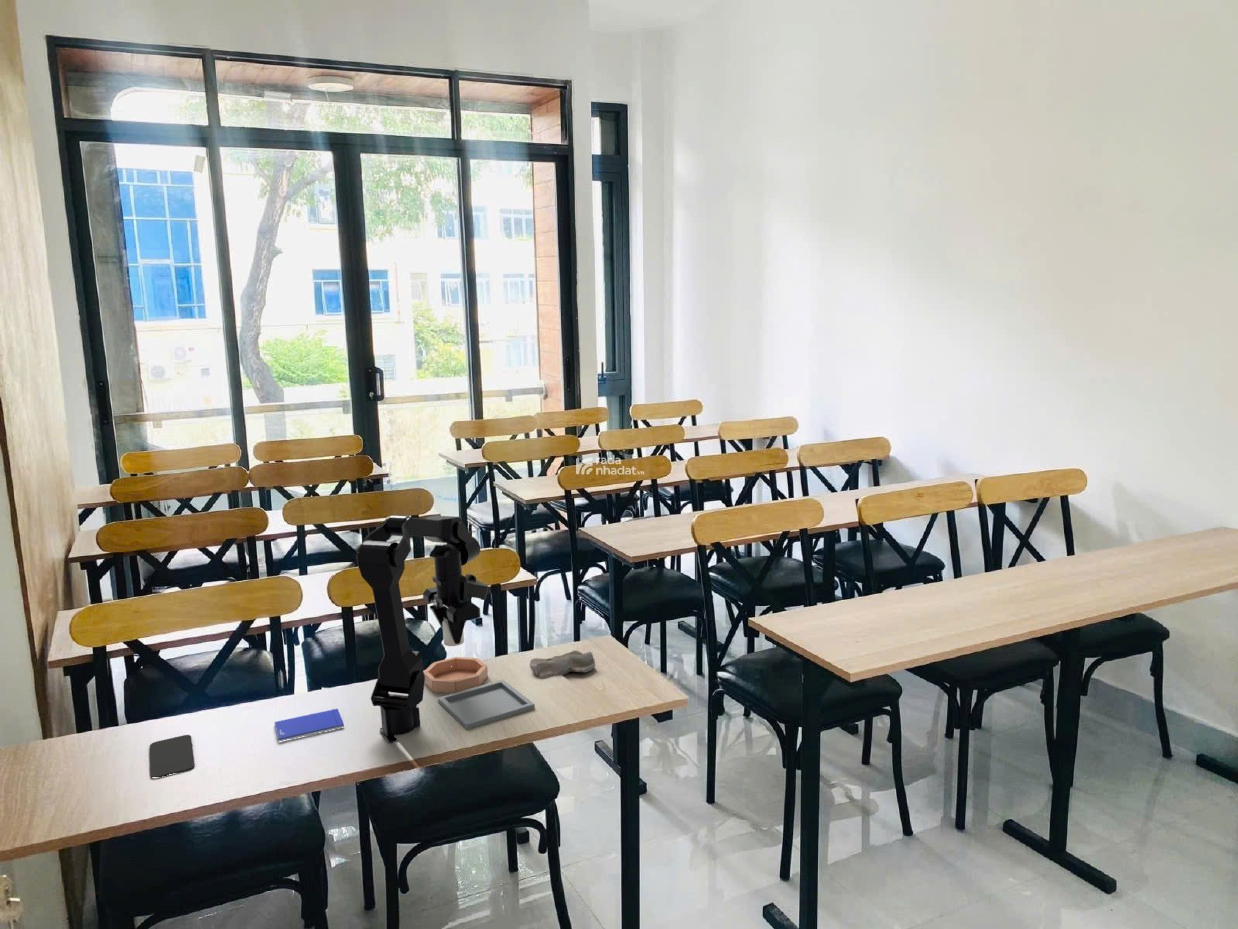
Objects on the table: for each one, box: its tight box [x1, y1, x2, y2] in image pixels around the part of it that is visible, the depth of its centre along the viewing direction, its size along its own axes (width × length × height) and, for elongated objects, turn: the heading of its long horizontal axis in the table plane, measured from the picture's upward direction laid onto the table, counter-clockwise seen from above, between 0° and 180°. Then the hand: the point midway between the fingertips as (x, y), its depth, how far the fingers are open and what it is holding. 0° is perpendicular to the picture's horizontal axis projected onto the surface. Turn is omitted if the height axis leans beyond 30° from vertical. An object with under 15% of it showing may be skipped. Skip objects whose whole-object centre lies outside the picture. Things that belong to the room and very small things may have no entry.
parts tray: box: [437, 679, 536, 730], centre depth 181 cm, size 15×15×2 cm
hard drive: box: [274, 708, 345, 742], centre depth 176 cm, size 2×8×12 cm
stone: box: [529, 650, 596, 679], centre depth 199 cm, size 15×10×4 cm, turn 111°
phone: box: [148, 734, 196, 778], centre depth 166 cm, size 7×1×15 cm
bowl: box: [423, 656, 489, 694], centre depth 194 cm, size 13×13×4 cm
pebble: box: [442, 620, 465, 647], centre depth 192 cm, size 4×4×5 cm
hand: (453, 640), depth 193 cm, fingers closed on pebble, 4 cm apart
